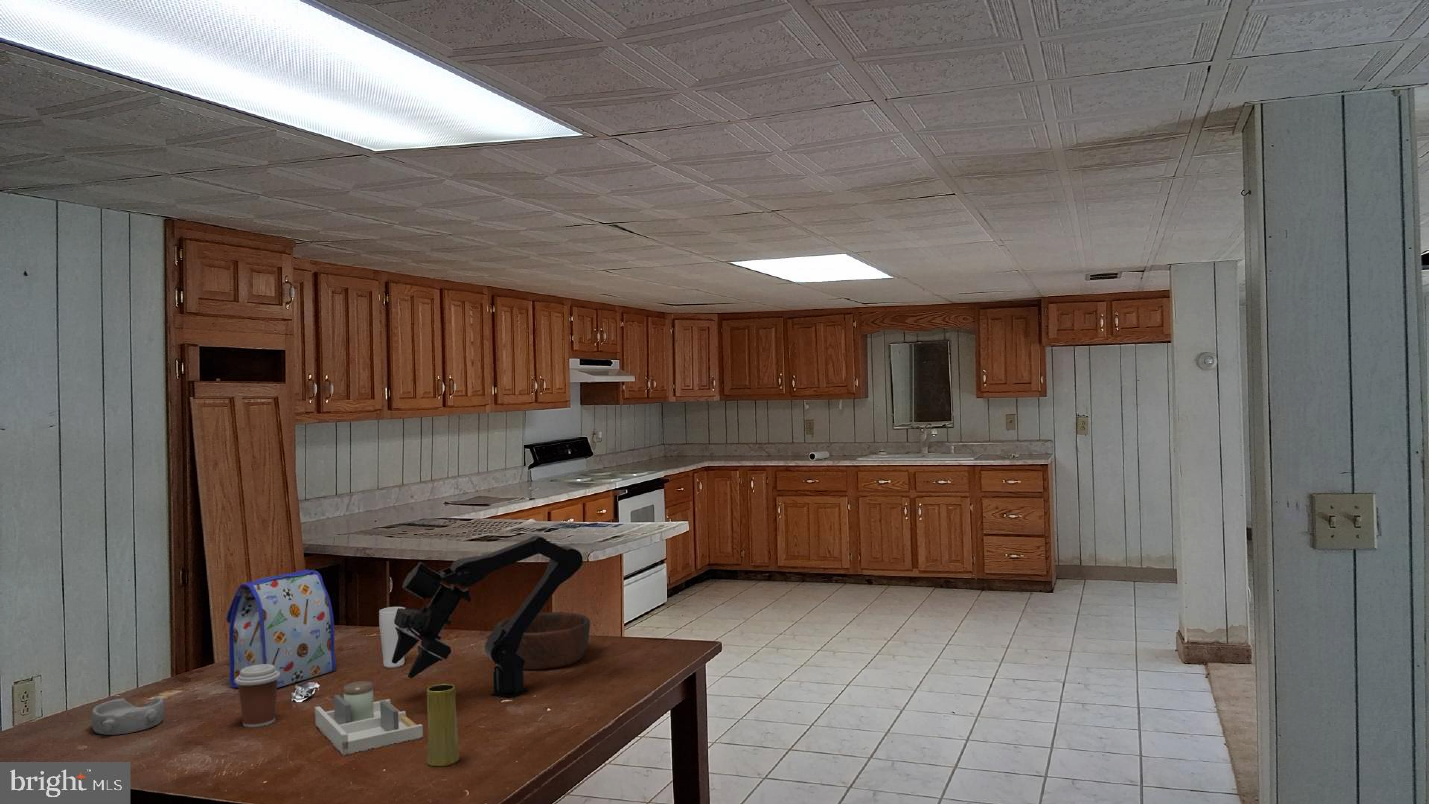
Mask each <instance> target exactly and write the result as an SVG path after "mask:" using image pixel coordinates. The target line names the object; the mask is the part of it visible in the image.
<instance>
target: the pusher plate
mask: <svg viewBox="0 0 1429 804" xmlns="http://www.w3.org/2000/svg"><path fill="white" fill-rule="evenodd" d="M333 704H334V707H333V710H334V712H335V721H336V722H337V723H338V724H339V725H341V724H345V723H350V722H351V721H350V704H348V703H347V702H346V701H345V700H344V697H342V696H341V695H340V694H334V696H333Z"/></svg>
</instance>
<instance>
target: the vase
mask: <svg viewBox="0 0 1429 804" xmlns="http://www.w3.org/2000/svg"><path fill="white" fill-rule="evenodd" d="M455 686H456V685H454V684H452V683H438V684H434V685H431V686H429V687H427V689H426V706H427V708H426V709H427V738H428V739H427V756H426V757H427V758H426V763H427V765H428V766H431V767H445V766H450V765H453V764H455V763H457V762H459V760H460V755H459V754H460V753H459V740H458V739H459V738H458V737H459V736H458V723H457V721H458V719H457V708H456V707H457V704H456V687H455Z"/></svg>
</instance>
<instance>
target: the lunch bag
mask: <svg viewBox="0 0 1429 804" xmlns="http://www.w3.org/2000/svg"><path fill="white" fill-rule="evenodd" d="M225 618H226V622H227V623H228V624H229V628H228V630H229V631H228V632H229V633H228V654H229V655H228V656H229V657H228V666H229V682H228V683H229V684H230V686H231V687H233V688H238V689H239V685H237V684H236V683H235V679H236V677H238V676H239V674H240V671H241V670H242V669H243V668H245V667H249V666H253V665H261V664H270V665H274V666H275V670H277V671H278V672H280V678H279V679H277V689H278V688H281V687H285V686H287V685H292V684H294V683H297V682H302V681H305V680H308V679H311V678H315V677H318V676H321V675H324V674H328V673H331V672H335V671H336V670H337V663H336V661H337V660H336V654H335V621H334V612H333V607H332V602H331V598H330V596H329V593H328V591H327V588H326V586H325V584H324V580H323V577H322V575H321V573H320V572H319V571H317V570H313V569H312V570H309V569H304V570H303V569H302V570H299V571H294V572H290V573H283V574H281V575H280V574H279V575H275V576H267V577H261V578H259V579H256V580H254V581H253V580H252V581H249V582H246V583H240V585H239V587H238V588H237V591H236V592H235V594H234V597H233V599H232V601H231V603H230V606H229V608H228V610H227V614H226V617H225Z"/></svg>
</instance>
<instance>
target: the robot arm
mask: <svg viewBox="0 0 1429 804" xmlns="http://www.w3.org/2000/svg"><path fill="white" fill-rule="evenodd" d="M536 555H542V556H544V557H545V558H548V559H549V561H548V563H547V565H546V566H547V567H546V569H545V571H544V574H543V576H542V577H541V579H539V581H538V583H537V584H536V585H535V586H534V588H533V589H532V591H531V592H530V593H529V594H528V596H527V597H526V599H525V600H524V601H523V603H522V604H521V605H520V607H519V608H518V609H517V611H516V612H515V613H514V615H513V616H511V618H512V619H511V620H510V621H509V622H508V623H507V624H506V625H504V626H503V627H500V626H499V625H498V623H497V624H495V626H494V627H493V630H492V631H491V633H490V634H489V635H487V636H486V637H485V638H486V642H485V644H484V653H485V654H486V656H487V657H488V658H490V659H491V661H493V663H494V664H495V665H496V666H494V667H493V674H492V675H493V676H492V677H493V680H492V681H493V691H490V695H491V696H497V697H498V696H499V697H505V698H513V697H516V696H518V695H520V694H522V693H524V692H527V691H528V690H529V687H525V684H524V683H525V681H524V669H523V667H524V664H525V660H524V659H523V658H521V657H520V656H519V655H518V654H517V653H516V652H517V650H518V648H519V646H520V643H521V640H522V637H523V634H524V632H525V631H526V630H527V628H528V627H529V626H530V624H531V623H532V622H533V620H534V619H535V617H536V616H537V615H538V613H541V611H542V609H543V608H544V607H545V606H546V604H547V603H548V601H549V600H550V599H551V597H552V596H553V595H554V594H555V591H556V590H557V589H558V588H559V586H561V585H562V584H563V583H564V582H566V581H568V580H569V579H571V578H572V577H573V576H574V575H575V574H576V573H577V572H578V571H579V570H580V569H581V567H583V563H584V561H583V560H584V558H583V555H582V553H581V551H580V550H578V549H575V548H573V547H572V546H568V545H561V546H560V545H557V544H555V543H553V542H551V541H549V540H547V539H546V538H544V537H543V536H540V535H536V534H535V535H533V536H531V537H530V538H528V539H524V540H522V541H518V542H516V543H513V544H511V545H508V546H506V547H503V548H501V549H497V550H494V551H493V552H490V553H487V554H484V555H475V556H474V555H473V556H468V557H462V558H459V559H457V560H454V561H453V562H452V563H451V566H449V567H447V568H444V569H442V570H439V571H435V570H433V569H431V568H429V567H428V566H427V565H426V564H424V563H423V562H421V561H419V562H418V563H417V565H416V566H415V567H414V568H413V569H411V571H410V572H408V573H407V575H406V577H405V578H404V581H403V583H402V589H403V590H406V591H407V592H409V593H412V594H413V595H415V596H416V597H418V598H420V599H422V600H426V599H427V598H428V599H431V598H432V599H431V600H430V602H429V603H428V605H425V604H424V605H422V606H421V607H420V609H419V610H418V609H412V608H405V609H402V608H398V609H397V613H396V616H395V620H394V624H395V625H397V626H398V627H399V628H397V627H395V629H396V631H397V634H398V641H397V645H396V648H395V651H394V655H393V658H392V663H394V664H396V663H397V662H398V661H400V660H401V659H402V658H403V657H404V658H405V656H406V654H408V653H409V652H410V651H411V650H412V649H413V648H414V647H415V646H416V645H417V644H418V643H419V642H420V645H417V651H418V654H417V656H416V658H415V661H414V662H413V663H412V665H411V668H410V670H409V671H408V674H407V677H408V678H409V679H414V678H415V677H416V676H418V675H419V674H420V673H423V672H424V671H425V670H427V669H428V668H429V667H431V666H433V665H435V664H436V663H438V662H442V661H443V660H446V661H447V660H448V659H449V657H450V655H451V654H452V648H451V646H450V645H448V644H447V643H446V642H445V641H442V640H441V639H442V638H443V637H442V636H440V634H441V633H442V630H444V628H445V626H446V625H448V626H450V625H451V624H452V622H453V621H452V620H451V619H450V618H451V616H452V615H453V613H454V612H455V610H456V609H457V607H458V606H459V604H460V602H461V601H462V600H464V601H465V602H467V603H470V602H472V599H471V593H470V592H471V591H470V589H468V587H472V586H473V585H475V584H477V583H479V582H480V581H481V580H484V579H485V578H486V577H488V576H489V575H490V574H491V573H493V572H495V571H498V570H500V569H502V568H505V567H507V566H510V565H512V564H515V563H518V562H520V561H523V560H526V559H528V558H530V557H534V556H536ZM441 581H443V582H444V583H446V584H448V585H449V586H448V585H445V584H444V583H442V582H441ZM455 584H457V585H458V586H460V587H458V586H456V585H455ZM461 587H462V588H465V589H462V588H461Z"/></svg>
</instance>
